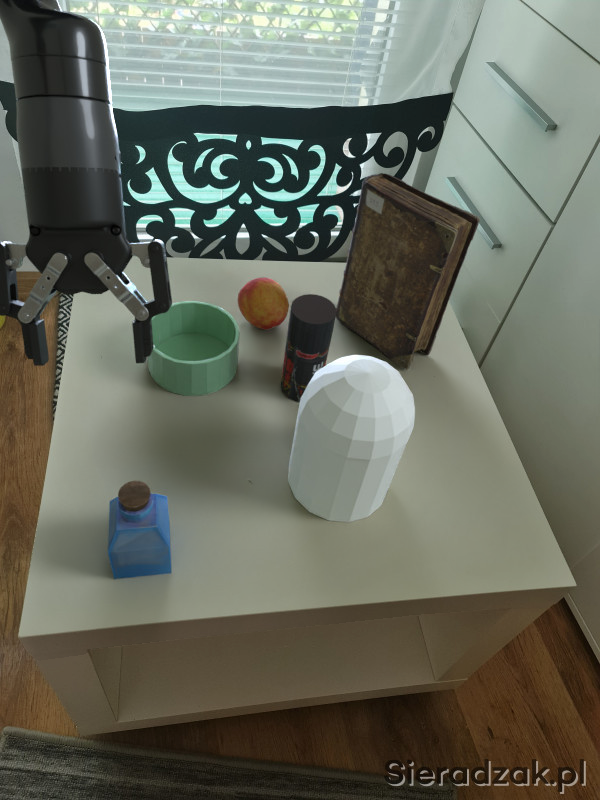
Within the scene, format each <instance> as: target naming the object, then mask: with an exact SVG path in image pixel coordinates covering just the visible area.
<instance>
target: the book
mask: <svg viewBox="0 0 600 800" xmlns="http://www.w3.org/2000/svg"><path fill="white" fill-rule="evenodd" d="M480 221H481V218H480V217H479V216H478V215H476V214H474V213H472V212H470V211H468V210H466V209H463V208H460V207H458V206H456V205H453V204H450V203H449V202H446V201H444V200H442V199H439V198H438V197H435V196H432V195H430V194H428V193H426V192H424V191H422V190H420V189H419V188H416V187H413V186H412V185H410V184H408V183H406V182H405V181H404V180H401V179H400V178H398V177H396V176H394V175H391V174H388V173H383V172H381V173H375V174H370V175H368V176H366V177H365V178H364V179H363V180H362V184H361V190H360V195H359V200H358V205H357V207H356V216H355V220H354V225H353V227H352V229H351V232H352V235H351V240H350V244H349V249H348V250H347V258H346V263H345V268H344V270H343V278H342V282H341V285H340V286H341V287H340V289H339V292H338V293H339V294H338V295H339V296H338V299H337V304H336V306H335V307H336V311H337V313H336V320H338V322H339V323H340V324H342V325H343V326H345V327H346V329H348V330H350V331H353V332H354V333H356V334H357V335H359V336H360V337H361V338H363V339H364V340H366V341H367V342H368V343H370V344H371V345H372V346H374V347H375V348H376V349H378V350H379V351H381V352H382V353H383V354H384V355H385V356H386V357H387V358H388V359H389V360H390V361H392V362H394V363H395V364H396V365H397V366H399V367H400V368H402V369H404V370H406V371H407V370H409V369H411V366H412V362H413V359H414V353H415V352H417V351H419V352H421V353H422V354H425V355H426V356H429V355H430V354H431V352H432V349H433V346H434V344H435V341H436V338H437V334H438V331H439V330H440V327H441V325H442V321H443V318H444V315H445V313H446V310H447V307H448V304H449V302H450V299H451V296H452V293H453V291H454V288H455V285H456V283H457V279H458V277H459V274H460V271H461V269H462V267H463V265H464V262H465V259H466V256H467V254H468V250H469V248H470V246H471V243H472V242H473V240H474V237H475V235H476V232H477V229H478V227H479V224H480Z"/></svg>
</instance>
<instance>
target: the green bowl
mask: <svg viewBox="0 0 600 800" xmlns="http://www.w3.org/2000/svg"><path fill="white" fill-rule="evenodd" d="M152 333H153V350H152V353H151V355H150V356H149V357H147V367H148V371H149V374H150V376H151V378H152V379H153V381H154V382H155V383H156V384H157V385H158V386H160V387H161V388H162V389H164V390H166V391H168V392H170V393H173V394H176V395H180V396H185V397H186V396H187V397H199V396H205V395H210V394H213V393H216V392H218V391H220V390H221V389H223V388H225V387H227V386H228V384H229V383H230V382H231V381H232V380H234V378H235V376H236V373H237V370H238V364H239V351H240V333H241V332H240V329H239V324H238V322H237V320H235V318H234V317H233V315H232V314H231V313H230V312H229V311H226V310H225V309H223V308H222V307H220V306H218V305H215V304H212V303H211V302H210V303H209V302H204V301H197V300H187V301H178V302H175V303H172V305H171V307H170V309H169V310H168V311H167V312H166V313H161V314H158V315H156V316H154V317H152Z"/></svg>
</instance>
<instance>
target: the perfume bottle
mask: <svg viewBox="0 0 600 800" xmlns="http://www.w3.org/2000/svg"><path fill="white" fill-rule="evenodd" d="M168 501H169V500H168V496H167V495H162V494H159V493H152V492H151V488H150V487H149V486H148V484H147V483H145V482H144V481H142V480H141V481H140V480H130V481H128V482H126V483H124V484H123V485H122V486H120V488H119V490H118V492H117V496H116V497H114V498H113V499H110V500H109V505H108V506H109V507H108V509H109V510H108V511H109V512H108V533H107V535H108V536H107V537H108V538H107V539H108V540H107V554H108V555H107V556H108V558H109V563H110V567H111V571H112V576H113V580H119V579H128V578H139V577H148V576H158V575H168V574H172V554H171V553H172V552H171V530H170V529H171V525H170V512H169V502H168Z"/></svg>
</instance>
